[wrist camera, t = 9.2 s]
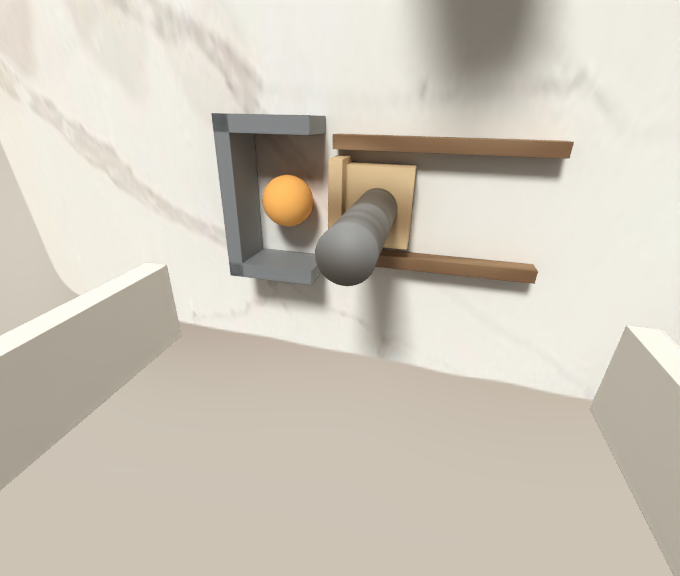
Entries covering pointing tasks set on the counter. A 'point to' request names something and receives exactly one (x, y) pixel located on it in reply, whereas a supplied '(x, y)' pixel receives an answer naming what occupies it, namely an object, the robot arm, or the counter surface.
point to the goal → (256, 195)
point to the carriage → (364, 217)
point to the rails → (456, 146)
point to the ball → (287, 200)
